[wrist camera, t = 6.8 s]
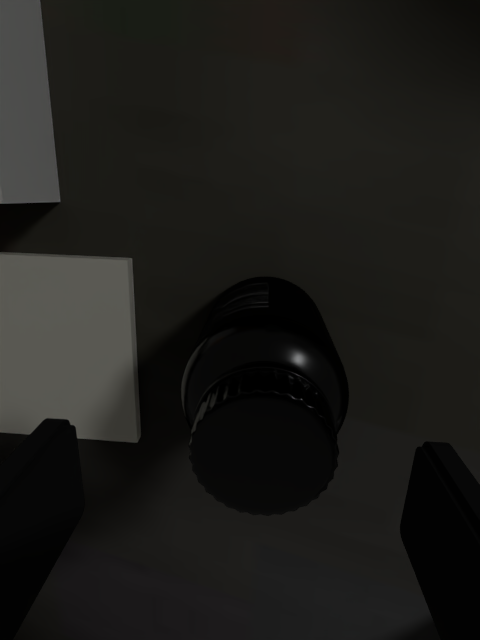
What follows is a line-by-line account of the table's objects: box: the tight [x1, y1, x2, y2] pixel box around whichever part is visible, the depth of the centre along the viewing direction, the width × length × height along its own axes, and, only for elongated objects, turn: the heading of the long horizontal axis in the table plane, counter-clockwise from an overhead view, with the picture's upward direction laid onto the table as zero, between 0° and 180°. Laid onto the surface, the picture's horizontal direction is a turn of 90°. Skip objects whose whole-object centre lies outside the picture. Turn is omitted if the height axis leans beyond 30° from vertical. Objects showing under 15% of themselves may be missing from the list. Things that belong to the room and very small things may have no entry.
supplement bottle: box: [181, 277, 349, 516], centre depth 18 cm, size 7×7×12 cm
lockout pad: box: [0, 252, 141, 443], centre depth 25 cm, size 12×12×1 cm
